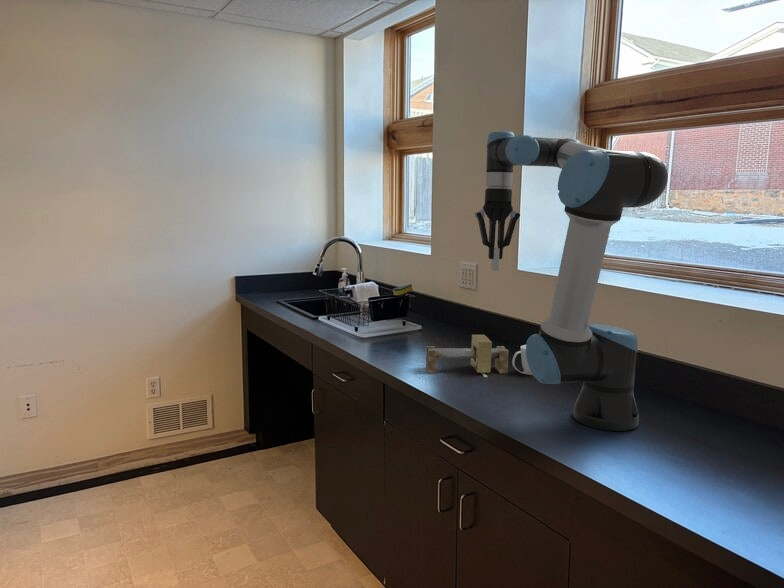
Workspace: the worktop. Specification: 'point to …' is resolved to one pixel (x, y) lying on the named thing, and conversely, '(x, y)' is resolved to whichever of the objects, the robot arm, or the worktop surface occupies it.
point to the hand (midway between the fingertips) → (494, 270)
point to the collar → (481, 353)
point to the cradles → (500, 362)
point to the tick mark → (484, 374)
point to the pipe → (463, 352)
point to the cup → (524, 361)
